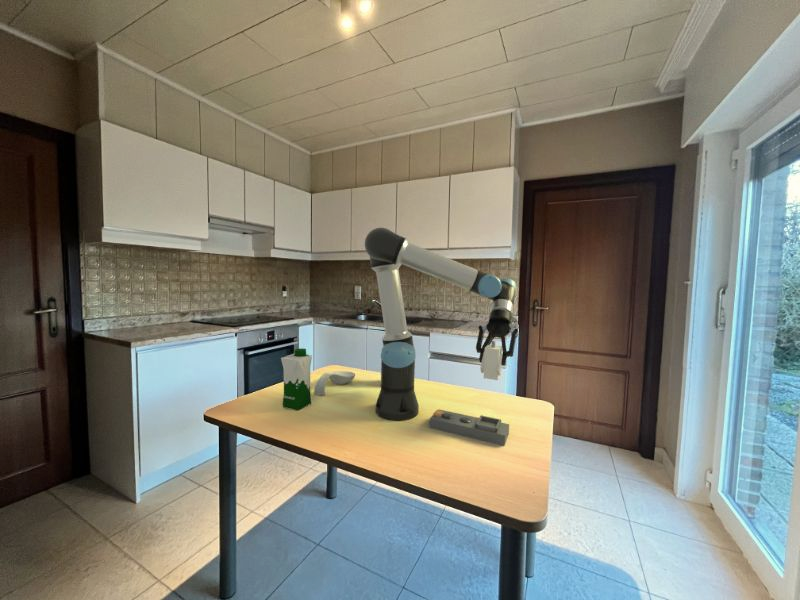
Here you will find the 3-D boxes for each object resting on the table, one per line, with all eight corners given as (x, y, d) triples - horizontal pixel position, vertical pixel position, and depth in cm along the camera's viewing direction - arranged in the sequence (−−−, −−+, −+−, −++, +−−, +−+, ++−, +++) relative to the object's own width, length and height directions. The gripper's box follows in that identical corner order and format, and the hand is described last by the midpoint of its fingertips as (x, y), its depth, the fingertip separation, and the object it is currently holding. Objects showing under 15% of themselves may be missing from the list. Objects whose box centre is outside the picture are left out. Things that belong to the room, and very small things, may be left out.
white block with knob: (483, 378, 109) (484, 341, 108) (486, 374, 113) (488, 339, 112) (497, 380, 107) (499, 343, 106) (500, 376, 111) (501, 340, 110)
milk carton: (314, 402, 123) (314, 349, 121) (298, 412, 115) (298, 355, 113) (295, 399, 126) (295, 347, 125) (278, 407, 118) (277, 352, 116)
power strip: (429, 427, 105) (429, 414, 105) (438, 417, 113) (438, 405, 112) (504, 445, 95) (505, 431, 95) (508, 433, 102) (509, 420, 102)
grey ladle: (336, 376, 154) (336, 361, 154) (359, 380, 151) (359, 364, 150) (306, 394, 132) (306, 376, 132) (332, 398, 128) (332, 380, 128)
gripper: (527, 323, 118) (519, 382, 105) (478, 319, 126) (465, 373, 113) (526, 309, 113) (518, 369, 100) (475, 306, 121) (461, 362, 107)
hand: (490, 371), depth 106 cm, fingers closed on white block with knob, 4 cm apart
